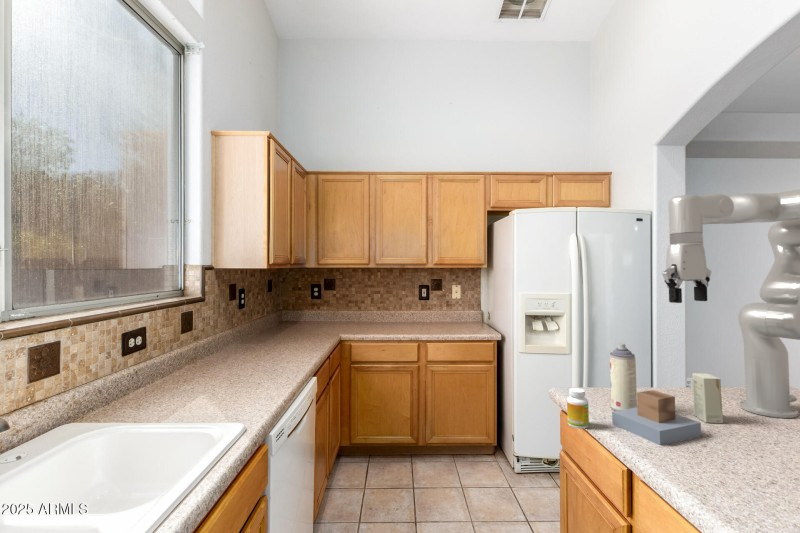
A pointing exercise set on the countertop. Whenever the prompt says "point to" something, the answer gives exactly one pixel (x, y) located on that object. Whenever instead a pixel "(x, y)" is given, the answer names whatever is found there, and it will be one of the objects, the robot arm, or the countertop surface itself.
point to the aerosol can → (623, 379)
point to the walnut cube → (656, 406)
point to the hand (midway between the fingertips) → (688, 301)
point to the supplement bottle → (577, 409)
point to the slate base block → (656, 427)
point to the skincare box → (707, 397)
